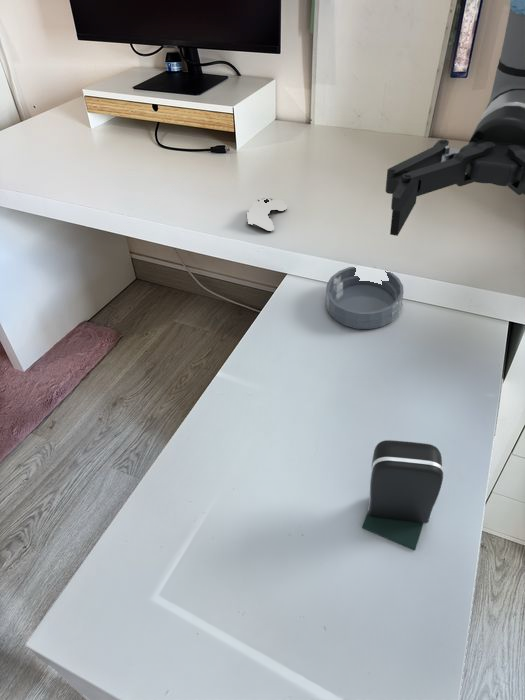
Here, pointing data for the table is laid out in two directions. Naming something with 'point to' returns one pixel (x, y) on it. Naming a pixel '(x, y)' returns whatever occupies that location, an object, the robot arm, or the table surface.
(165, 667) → the table surface
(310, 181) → the table surface
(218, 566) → the table surface
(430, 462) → the battery charger
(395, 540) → the mat
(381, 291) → the bowl
